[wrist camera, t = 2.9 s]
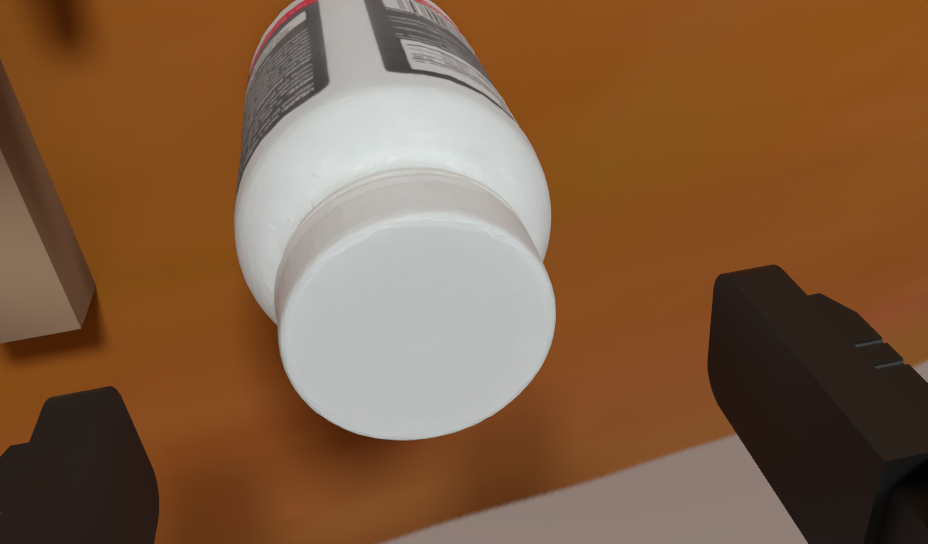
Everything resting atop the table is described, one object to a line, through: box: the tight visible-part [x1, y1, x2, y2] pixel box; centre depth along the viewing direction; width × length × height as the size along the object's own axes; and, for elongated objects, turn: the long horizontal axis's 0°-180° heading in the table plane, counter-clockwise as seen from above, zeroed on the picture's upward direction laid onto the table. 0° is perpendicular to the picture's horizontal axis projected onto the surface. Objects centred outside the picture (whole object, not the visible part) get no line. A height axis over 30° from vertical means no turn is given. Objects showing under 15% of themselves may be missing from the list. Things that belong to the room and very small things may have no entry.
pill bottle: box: [234, 0, 556, 440], centre depth 15 cm, size 5×5×10 cm
